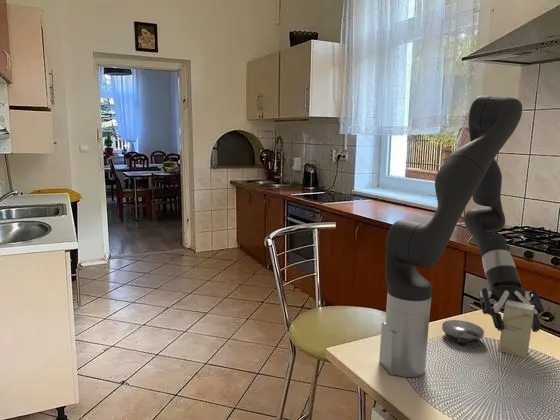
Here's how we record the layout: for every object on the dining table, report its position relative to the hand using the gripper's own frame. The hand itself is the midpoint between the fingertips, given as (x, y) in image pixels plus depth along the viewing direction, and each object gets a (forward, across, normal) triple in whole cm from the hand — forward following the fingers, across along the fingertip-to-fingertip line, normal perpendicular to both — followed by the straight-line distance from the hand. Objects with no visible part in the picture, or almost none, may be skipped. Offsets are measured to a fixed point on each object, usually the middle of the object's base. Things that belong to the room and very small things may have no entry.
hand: (519, 330), depth 105 cm
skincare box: (+4, 0, +5) cm, 6 cm away
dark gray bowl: (-1, -10, +10) cm, 14 cm away
